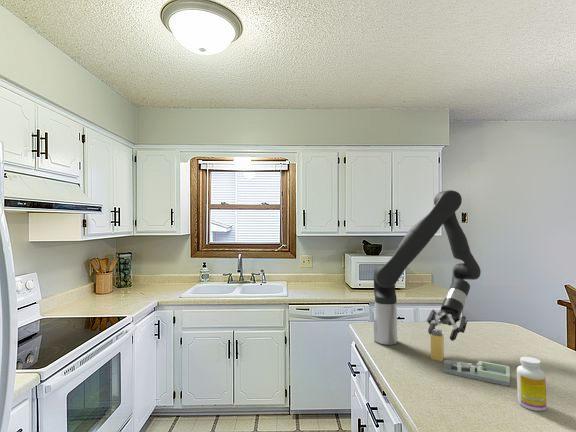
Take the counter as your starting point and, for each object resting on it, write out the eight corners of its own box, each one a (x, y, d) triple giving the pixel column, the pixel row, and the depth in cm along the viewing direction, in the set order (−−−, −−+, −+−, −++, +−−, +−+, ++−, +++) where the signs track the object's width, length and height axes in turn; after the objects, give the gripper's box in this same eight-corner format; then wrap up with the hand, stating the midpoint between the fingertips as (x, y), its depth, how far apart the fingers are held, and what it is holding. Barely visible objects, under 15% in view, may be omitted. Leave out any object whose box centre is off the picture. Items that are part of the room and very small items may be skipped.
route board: (443, 372, 116) (443, 363, 116) (447, 363, 123) (447, 354, 123) (510, 386, 105) (509, 376, 105) (509, 375, 113) (509, 365, 113)
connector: (431, 358, 127) (430, 331, 128) (432, 355, 131) (432, 328, 131) (442, 361, 125) (441, 333, 125) (444, 357, 128) (443, 330, 129)
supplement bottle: (551, 413, 90) (550, 365, 91) (524, 411, 92) (523, 363, 92) (538, 400, 97) (537, 355, 97) (513, 398, 98) (512, 354, 98)
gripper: (433, 294, 141) (419, 327, 134) (468, 299, 130) (455, 336, 122) (440, 304, 144) (427, 337, 137) (475, 311, 133) (462, 347, 125)
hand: (440, 336), depth 129 cm, fingers open, 8 cm apart
